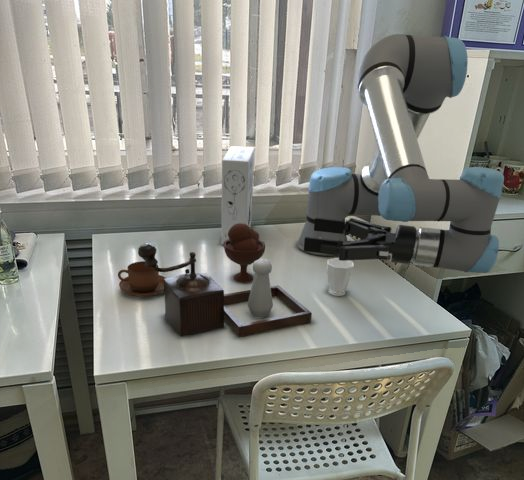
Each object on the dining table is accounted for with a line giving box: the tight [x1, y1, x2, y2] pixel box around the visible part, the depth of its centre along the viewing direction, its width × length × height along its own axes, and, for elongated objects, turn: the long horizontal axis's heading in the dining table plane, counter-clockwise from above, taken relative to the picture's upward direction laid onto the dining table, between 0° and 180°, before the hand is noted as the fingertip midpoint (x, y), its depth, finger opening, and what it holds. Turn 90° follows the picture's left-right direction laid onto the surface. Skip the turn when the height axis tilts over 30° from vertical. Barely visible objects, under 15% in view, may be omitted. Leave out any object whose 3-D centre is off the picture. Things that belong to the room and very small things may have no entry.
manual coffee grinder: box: [137, 242, 225, 337], centre depth 110 cm, size 16×11×18 cm
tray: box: [224, 285, 313, 338], centre depth 119 cm, size 18×16×2 cm
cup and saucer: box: [117, 260, 167, 297], centre depth 127 cm, size 12×12×6 cm
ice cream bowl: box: [223, 223, 266, 284], centre depth 133 cm, size 11×11×15 cm
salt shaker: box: [247, 258, 274, 319], centre depth 117 cm, size 6×6×13 cm
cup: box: [326, 257, 355, 297], centre depth 131 cm, size 7×10×8 cm
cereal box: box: [220, 145, 255, 246], centre depth 161 cm, size 22×8×25 cm, turn 177°
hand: (309, 233), depth 108 cm, fingers open, 13 cm apart
